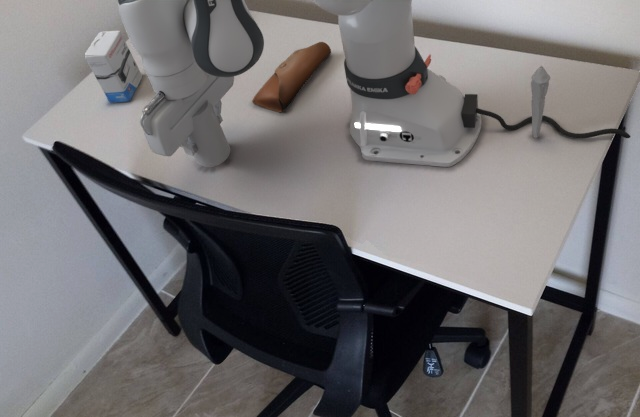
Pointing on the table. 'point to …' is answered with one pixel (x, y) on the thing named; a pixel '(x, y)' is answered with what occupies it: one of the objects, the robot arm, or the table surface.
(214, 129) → the beverage can
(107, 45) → the ink box
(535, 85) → the pen
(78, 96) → the table surface
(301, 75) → the sunglasses case
